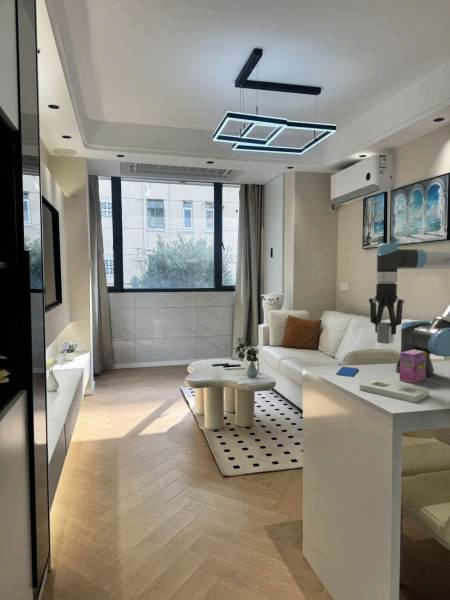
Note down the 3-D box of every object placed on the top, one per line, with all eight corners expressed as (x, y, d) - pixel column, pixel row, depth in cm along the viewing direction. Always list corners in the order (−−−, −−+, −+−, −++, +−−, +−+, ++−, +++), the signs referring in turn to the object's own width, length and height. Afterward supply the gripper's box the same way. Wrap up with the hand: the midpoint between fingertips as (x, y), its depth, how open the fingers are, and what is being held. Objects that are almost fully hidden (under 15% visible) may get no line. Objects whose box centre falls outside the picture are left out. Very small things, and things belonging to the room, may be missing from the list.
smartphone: (335, 374, 169) (342, 366, 182) (335, 376, 169) (342, 368, 182) (353, 376, 165) (358, 368, 179) (353, 378, 166) (358, 370, 179)
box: (412, 383, 155) (413, 354, 155) (399, 380, 160) (399, 351, 159) (426, 379, 161) (427, 351, 161) (412, 377, 166) (413, 349, 165)
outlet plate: (375, 384, 154) (375, 378, 154) (429, 395, 139) (429, 389, 139) (359, 389, 146) (359, 384, 146) (415, 402, 131) (415, 396, 131)
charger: (382, 341, 158) (383, 321, 158) (392, 342, 155) (392, 322, 155) (377, 342, 156) (378, 322, 155) (387, 343, 153) (388, 323, 152)
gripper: (361, 282, 158) (360, 340, 159) (404, 283, 145) (402, 345, 147) (370, 282, 163) (369, 338, 164) (412, 283, 151) (411, 343, 152)
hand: (385, 341), depth 156 cm, fingers closed on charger, 4 cm apart
